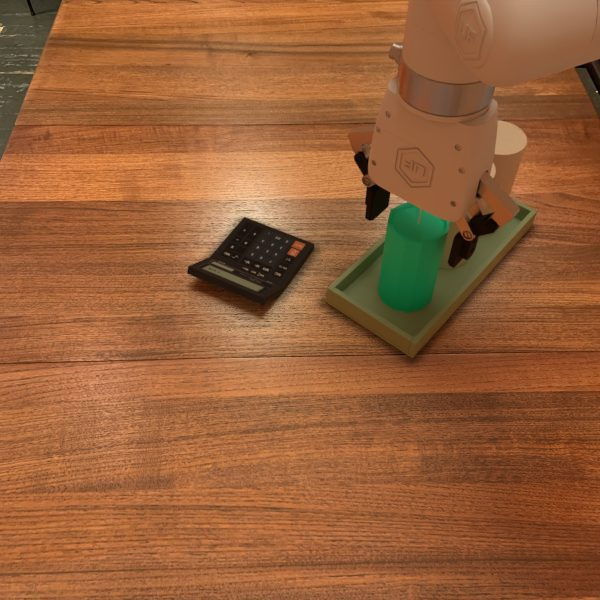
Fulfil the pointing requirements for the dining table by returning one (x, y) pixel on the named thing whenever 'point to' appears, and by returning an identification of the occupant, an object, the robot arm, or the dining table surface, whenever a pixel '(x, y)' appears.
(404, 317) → the tray
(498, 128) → the cream candle
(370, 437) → the dining table surface
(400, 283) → the candle
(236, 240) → the calculator
